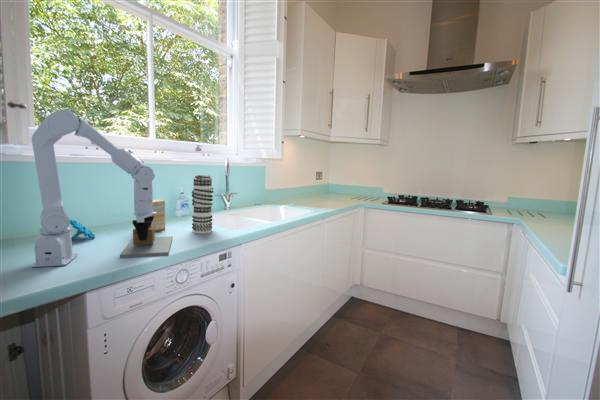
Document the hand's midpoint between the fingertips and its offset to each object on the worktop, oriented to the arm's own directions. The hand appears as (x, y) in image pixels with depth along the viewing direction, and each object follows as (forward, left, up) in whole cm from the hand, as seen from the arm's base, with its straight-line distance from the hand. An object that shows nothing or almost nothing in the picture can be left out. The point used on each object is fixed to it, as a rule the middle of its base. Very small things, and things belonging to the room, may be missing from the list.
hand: (144, 238), depth 102 cm
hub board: (0, -2, -3) cm, 4 cm away
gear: (+15, +23, -4) cm, 27 cm away
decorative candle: (+21, -20, -4) cm, 29 cm away
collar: (0, 0, -1) cm, 1 cm away
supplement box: (+25, 0, -4) cm, 25 cm away
